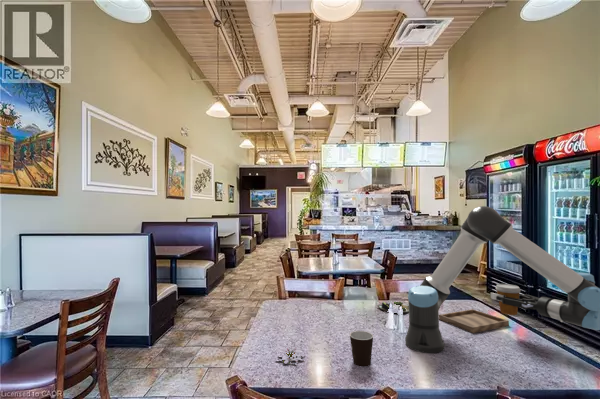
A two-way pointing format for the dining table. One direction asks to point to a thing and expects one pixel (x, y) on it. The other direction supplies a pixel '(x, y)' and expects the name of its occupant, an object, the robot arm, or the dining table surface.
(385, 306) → the salad plate
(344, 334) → the dining table surface
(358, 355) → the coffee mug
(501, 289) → the disposable coffee cup
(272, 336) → the dining table surface
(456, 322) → the serving tray
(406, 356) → the dining table surface
